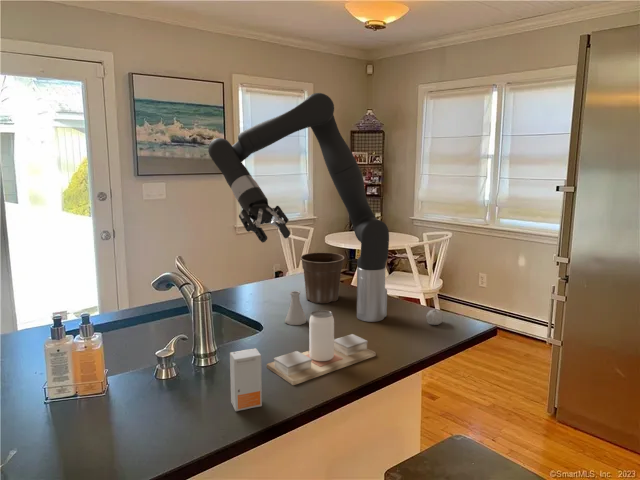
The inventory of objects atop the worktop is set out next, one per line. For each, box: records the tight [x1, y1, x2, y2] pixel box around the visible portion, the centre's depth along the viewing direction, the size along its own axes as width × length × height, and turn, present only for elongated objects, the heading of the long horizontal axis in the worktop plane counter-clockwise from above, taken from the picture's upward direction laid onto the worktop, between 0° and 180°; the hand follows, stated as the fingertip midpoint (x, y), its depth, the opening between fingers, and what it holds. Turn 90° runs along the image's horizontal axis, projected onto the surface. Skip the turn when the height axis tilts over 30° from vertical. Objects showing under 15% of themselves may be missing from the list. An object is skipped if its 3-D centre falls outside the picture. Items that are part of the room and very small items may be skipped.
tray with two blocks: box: [266, 333, 377, 386], centre depth 126 cm, size 27×12×4 cm, turn 128°
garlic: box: [425, 308, 444, 326], centre depth 153 cm, size 6×5×5 cm
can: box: [308, 309, 335, 362], centre depth 125 cm, size 6×6×12 cm
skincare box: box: [229, 347, 263, 412], centre depth 104 cm, size 6×4×12 cm
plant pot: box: [300, 251, 345, 304], centre depth 178 cm, size 16×16×16 cm
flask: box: [283, 290, 307, 326], centre depth 155 cm, size 7×7×10 cm
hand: (276, 238), depth 133 cm, fingers open, 8 cm apart
